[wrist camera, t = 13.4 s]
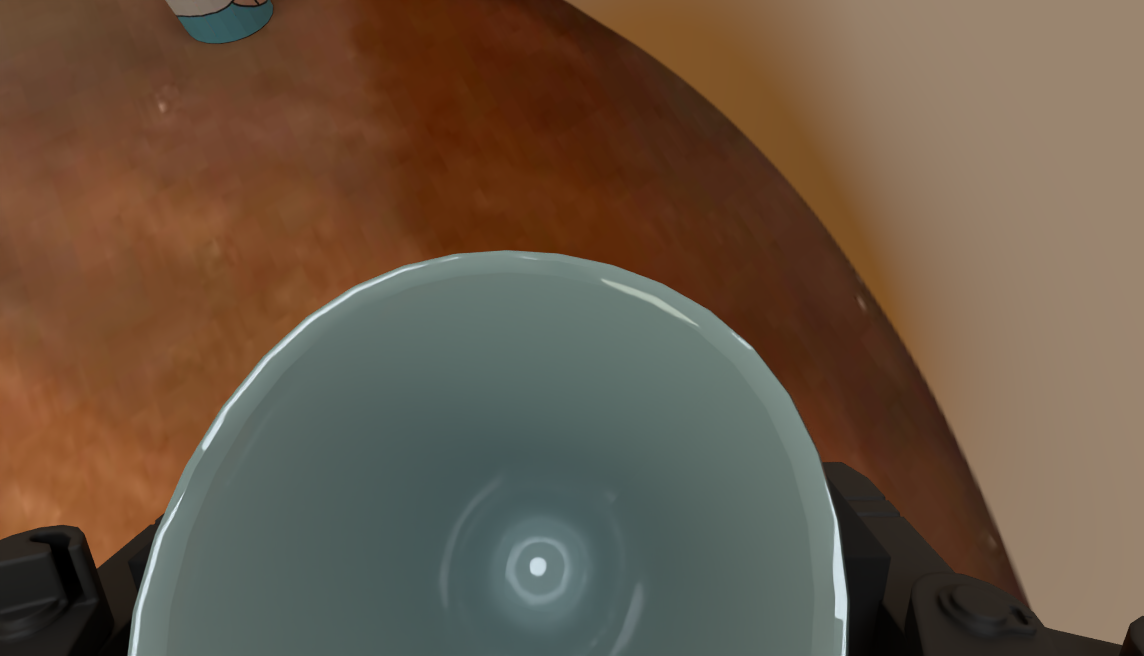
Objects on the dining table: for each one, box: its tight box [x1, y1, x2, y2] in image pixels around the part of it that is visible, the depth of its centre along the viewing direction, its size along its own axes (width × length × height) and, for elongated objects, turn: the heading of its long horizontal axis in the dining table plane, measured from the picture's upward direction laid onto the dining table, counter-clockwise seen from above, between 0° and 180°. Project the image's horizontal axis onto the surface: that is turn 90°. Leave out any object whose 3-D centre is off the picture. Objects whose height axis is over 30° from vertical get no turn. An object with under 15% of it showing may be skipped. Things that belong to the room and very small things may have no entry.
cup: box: [128, 250, 850, 656], centre depth 10 cm, size 8×8×10 cm
